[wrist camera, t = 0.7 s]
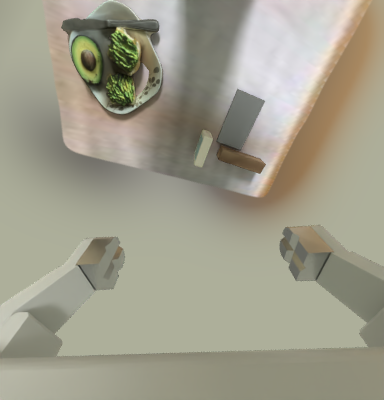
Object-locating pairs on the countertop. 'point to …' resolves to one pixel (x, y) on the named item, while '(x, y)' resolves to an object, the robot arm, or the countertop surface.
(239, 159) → the brown long block
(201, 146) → the tile
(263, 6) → the countertop surface
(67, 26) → the plate of avocado toast
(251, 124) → the pad
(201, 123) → the countertop surface
